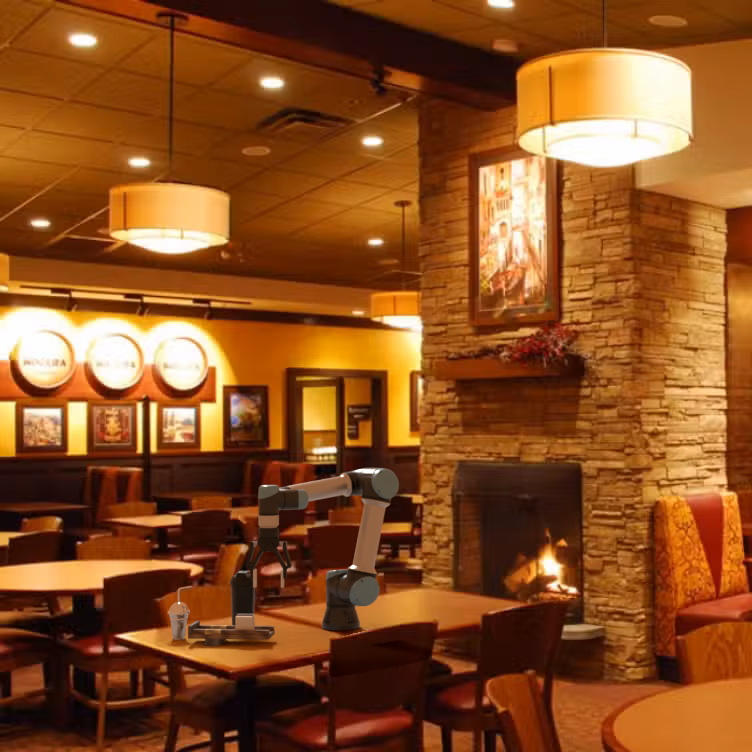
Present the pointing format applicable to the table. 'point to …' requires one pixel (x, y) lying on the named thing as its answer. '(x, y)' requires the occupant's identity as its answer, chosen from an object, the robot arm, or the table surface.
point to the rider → (245, 622)
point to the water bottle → (242, 594)
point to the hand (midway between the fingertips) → (268, 587)
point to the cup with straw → (179, 617)
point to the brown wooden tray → (227, 633)
